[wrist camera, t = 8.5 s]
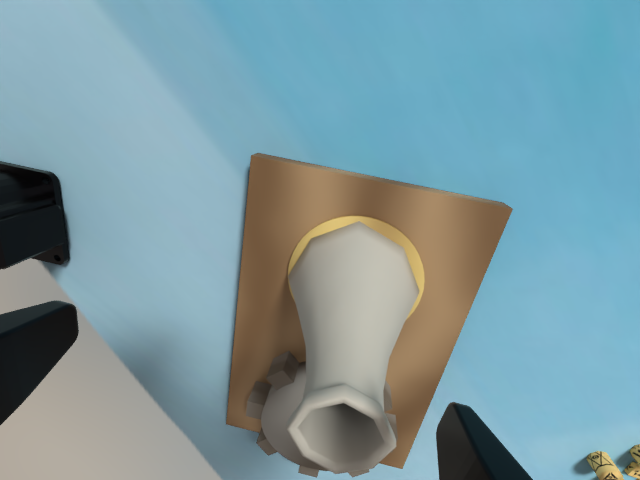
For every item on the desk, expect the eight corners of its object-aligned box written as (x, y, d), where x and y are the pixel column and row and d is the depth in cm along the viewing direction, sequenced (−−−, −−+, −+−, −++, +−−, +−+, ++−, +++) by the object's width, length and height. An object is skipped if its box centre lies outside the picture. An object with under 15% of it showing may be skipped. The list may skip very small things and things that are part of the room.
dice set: (571, 486, 25) (587, 514, 24) (569, 439, 24) (586, 466, 22) (647, 483, 24) (669, 512, 23) (650, 434, 23) (674, 461, 21)
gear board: (231, 416, 27) (208, 467, 23) (258, 152, 19) (229, 163, 15) (398, 458, 26) (404, 518, 22) (503, 202, 18) (541, 227, 14)
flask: (345, 350, 21) (328, 537, 12) (268, 271, 20) (181, 412, 10) (441, 291, 19) (517, 467, 9) (361, 196, 17) (357, 292, 8)
